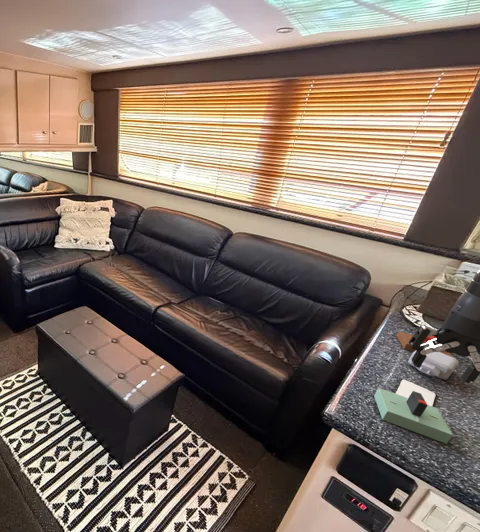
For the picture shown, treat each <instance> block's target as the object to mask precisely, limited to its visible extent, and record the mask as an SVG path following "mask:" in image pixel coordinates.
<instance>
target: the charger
mask: <svg viewBox="0 0 480 532" xmlns="http://www.w3.org/2000/svg"><path fill="white" fill-rule="evenodd" d="M415 352H416V351H415ZM415 352H412V354H411V355H410V357H409V358H408V360H407V363H408V364H409V365H410V366H412V367H414V368H415V369H417V370H418V371H419V372H421V373H424V374H425V375H428V376H433V377H435V378H438V379H441V380H449V377H450V376H451V375H452V373H453V372H454V371H455V370H456V368H457V366H458V365H459V364H460V361H459V360H458V359H457V358H455V357H454V356H453V357H451V356H448V355H446V354H443V353H441V352H432V353H429V354H426V356H427V357H426V359H425V360H424V362H423V363H422V365H421V367H420V368H418V367H415V366H414V364H413V362H412V357H413V356H414V354H415Z"/></svg>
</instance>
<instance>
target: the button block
mask: <svg viewBox="0 0 480 532" xmlns="http://www.w3.org/2000/svg"><path fill="white" fill-rule="evenodd" d="M413 335H414V334H412V333H411V334H410V333H407V332H403V331H400V330H399V331H398V332H397V334H396V338H397V340H398V341H399V343H400V345H401V347H402V348H403V350H407V351H410V352H412V353H414V352H415V351H416V350H414V349H412V348H411V346H410V344H409V341H410V339H411V338H412V337H413ZM425 343H427V341H424V342H423V343H422V344H425ZM422 344H421V345H422ZM437 345H439V344H437ZM439 352H441V353H443V354H446V355H448V356H451V357H453V358H454V355H453V354H452V353H449V352H446V351H445V350H442V351H439Z"/></svg>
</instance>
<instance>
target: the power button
mask: <svg viewBox="0 0 480 532" xmlns="http://www.w3.org/2000/svg"><path fill="white" fill-rule="evenodd" d="M433 339H436V336H435V335H431V336H430V337H426V339H425V340H424V341H427V342H428V341H430V340H433Z"/></svg>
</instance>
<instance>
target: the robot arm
mask: <svg viewBox="0 0 480 532" xmlns="http://www.w3.org/2000/svg"><path fill="white" fill-rule="evenodd" d="M412 335H413V337H412V338H411V339H410V341H409V344H410V346H411V348H412V349H414V350H416V352H415V354H414V356H413V357H412V362H413V364H414V366H415V367H414V366H413V367H414V368H416V367H418V368H420V367H421V365H422V363H423V362H424V360H425V359H426V357H427V356H426V354H429V353H432V352H439V351H442V350H445V351H446V352H449V353H451V354H456V355H458V356H460V357H463V358H466V357H467V358H468V359H469V362H470V364H469V365H468V366H467V367H466V368H465V370H464V371H463V373H462V375H461V376H460V378H461V380H462V381H463V382H464V383H465V384H466V383H467V384H470V383H473V382H475V381H477V379H478V377H479V376H480V269H479V270H477V271H476V273H475V274H474V275H473V277H472V279H471V280H470V281H469V283H468V285H467V287H466V288H465V290H464V292H463V293H462V294H461V295H460V296H459V297H458V298H457V300H456V301H455V302H454V305H453V307H452V308H451V310H450V311H449V313H448V314H447V317H446V318H445V319H444V321H443V323H442V325H441V327H439V328H438V329H435V328H432V327H428V325H426V324H420V325H419V326H418V328H417V329H416V331H415V332H414V333H413V334H412ZM431 335H432V336H434V337H436V339H433V340H430V341H428V342H427V343H425V344H422V343H423V342H424V340H425V339H426V337H430V336H431ZM421 344H422V345H421ZM437 344H439V345H437Z"/></svg>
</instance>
